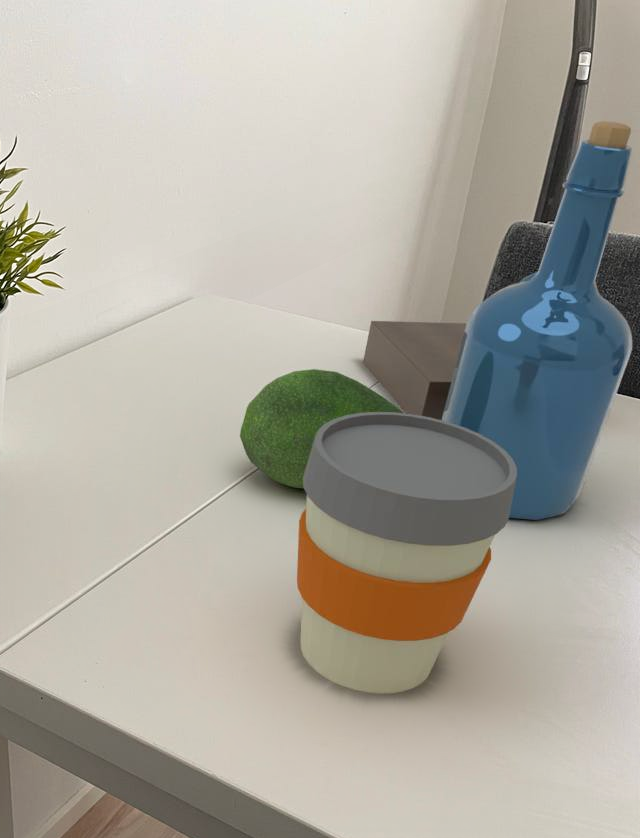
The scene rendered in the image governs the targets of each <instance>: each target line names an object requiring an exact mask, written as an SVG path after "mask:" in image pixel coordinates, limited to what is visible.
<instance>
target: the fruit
mask: <svg viewBox="0 0 640 838" xmlns="http://www.w3.org/2000/svg"><path fill="white" fill-rule="evenodd" d="M366 412H395V413H404V411H403V410H401V409H399V408H398V407H397V406H396V405H394V404H393V403H392V402H391V401H389V400H388V399H386V398H385V397H383V396H382V395H381V394H380V393H378V392H377V391H374V390H373V389H372V388H369V387H368V386H366V385H364V384H363V383H361V382H359V381H358V380H355V379H354V378H351V377H350V376H346V375H344V374H342V373H340V372H338V371H334V370H333V371H332V370H325V369H318V368H317V369H316V368H312V369H304V370H303V369H302V370H297V371H296V370H295V371H292V372H290V373H286V374H285V375H282V376H279V377H276V378H275V379H273V380H272V381H271V382H269V383H268V384H266V385H265V386H264V387H263V388H262V389H261V390H260V391H259V392H258V393H257V395H256V396H254V398H253V399H252V400H251V401H250V402H249V403H248V404H247V407H246V411H245V414H244V418H243V421H242V424H241V427H240V433H239V438H240V440H241V443H242V446H243V449H244V451H245V454H246V457H247V458H248V459H249V461H250V462H251V464H253V465H254V467H256V468H257V469H258V470H259V471H260V472H261V473H263V474H264V475H266V476H267V477H268V478H269V479H271V480H272V481H274V482H276V483H279V484H281V485H285V486H287V487H291V488H294V489H295V488H296V489H304V488H303V476H304V472H305V469H306V466H307V462H308V459H309V456H310V452H311V449H312V446H313V442H314V439H315V436H316V433H317V431H318V430H319V429H320V428H321V427H322V426H323V425H324V424H325V423H327V422H329V421H331V420H333V419H336V418H339V417H342V416H345V415H350V414H356V413H366Z"/></svg>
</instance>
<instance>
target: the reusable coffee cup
mask: <svg viewBox="0 0 640 838" xmlns="http://www.w3.org/2000/svg"><path fill="white" fill-rule="evenodd" d="M516 478H517V467H516V465H515V463H514V461H513V459H512V458H511V456H510V455H509V454H508V453H507V452H506V451H505V450H504V449H503V448H501V447H500V446H499V445H497V444H496V443H495V442H493V441H491V440H490V439H488V438H486V437H484V436H482V435H481V434H478V433H476V432H474V431H471V430H469V429H467V428H464V427H462V426H459V425H456V424H453V423H450V422H446V421H442V420H438V419H434V418H430V417H425V416H419V415H413V414H406V413H405V412H403V413H395V412H366V413H356V414H350V415H345V416H342V417H339V418H336V419H333V420H331V421H329V422H327V423H325V424H324V425H323V426H322V427H321V428H320V429H319V430H318V431H317V433H316V436H315V439H314V442H313V446H312V449H311V452H310V456H309V459H308V462H307V466H306V469H305V472H304V476H303V488H302V489H304V492H305V494H306V503H305V504H306V505H305V506H306V507H305V509H304V510H303V511H302V512H301V515H300V518H299V520H298V541H297V542H298V544H297V567H296V569H297V570H296V584H297V585H296V586H297V590H298V592H299V594H300V597H301V598H302V601H301V620H300V651H301V653H302V656H303V658H304V659H305V660H306V662H307V663H308V665H309V666H310V667H311V668H312V669H313V670H314V671H316V673H318V674H320V675H321V676H322V677H324V679H326V680H329V681H331V682H333V683H335V684H336V685H339V686H342V687H345V688H348V689H350V690H354V691H359V692H363V693H368V694H369V693H370V694H381V695H382V694H383V695H384V694H398V693H403V692H406V691H410V690H412V689H415V688H416V687H418V686H420V685H422V684H423V683H424V682H425V681H426V680H427V679H428V677H429V676H430V673H431V672H432V669H433V667H434V665H435V662H436V660H437V659H438V656H439V654H440V652H441V651H442V649H443V646H444V645H445V644H444V643H445V641H446V639H447V637H448V636H449V634H450V632H451V631H453V630H455V629H456V628H457V627H458V626H459V625H460V624H461V623H462V621H463V620H464V617H465V615H466V612H467V610H468V609H469V607H470V604H471V602H472V600H473V599H474V596H475V594H476V592H477V590H478V588H479V585H480V583H481V581H482V579H483V577H484V575H485V573H486V571H487V569H488V567H489V565H490V563H491V561H492V549H491V548H492V547H491V545H492V542H493V540H494V539H495V535H497V534H498V533H499V532H500V531H501V530H503V529H504V528H505V527H506V525H507V523H508V520H509V519H510V518H509V515H510V509H511V504H512V499H513V494H514V488H515V483H516Z"/></svg>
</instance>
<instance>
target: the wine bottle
mask: <svg viewBox="0 0 640 838" xmlns="http://www.w3.org/2000/svg"><path fill="white" fill-rule="evenodd" d="M631 133H632V128H631V127H630V126H629V125H627V124H626V123H622V122H621V123H620V122H614V121H604V120H602V121H597V122H595V123H594V124H593V125H592V127H591V131H590V134H589V137H588V138H589V139H585V140H583V141H581V142H580V143H579V146H578V148H577V151H576V153H575V156H574V158H573V161H572V163H571V166H570V168H569V170H568V173H567V175H566V178H565V180H566V181H564V182H563V183H562V185H561V186H562V188H564V192H563V195H562V196H561V197H562V198H561V200H560V204H559V207H558V210H557V213H556V216H555V219H554V222H553V225H552V228H551V232H550V234H549V237H548V240H547V243H546V245H545V250H544V252H543V255H542V258H541V262H540V264H539V267H538V271H536V272H533V273H531V274H529V275H527V276H525V277H524V278H522V279H521V281H519V282H516V283H513V284H509V285H507V286H505V287H502V288H500V289H498V290H497V291H495V292H494V293H493V294H491V295H490V296H489V297H487V298H485V300H483V301H482V302H481V303H480V304H479V305H477V306H476V308H475V309H474V310H473V311H472V313H471V315H469V317H468V319H467V321H466V323H467V324H466V328H465V331H464V335H463V339H462V343H461V347H460V351H459V355H458V359H457V362H456V366H455V370H454V374H453V378H452V382H451V386H450V390H449V394H448V397H447V401H446V405H445V409H444V413H443V417H442V421H446V422H450V423H453V424H456V425H459V426H462V427H464V428H467V429H469V430H471V431H474V432H476V433H478V434H481V435H482V436H484V437H486V438H488V439H490V440H491V441H493V442H495V443H496V444H497V445H499V446H500V447H501V448H503V449H504V450H505V451H506V452H507V453H508V454H509V455H510V456H511V458H512V459H513V461H514V463H515V465H516V467H517V478H516V483H515V488H514V494H513V499H512V504H511V509H510V515H509V519H521V520H522V519H523V520H531V521H538V520H543V519H548V518H553V517H557V516H561V515H564V514H566V513H567V512H568V510H569V509H571V507H572V506H573V505H574V503H575V502H576V500H577V499H578V497H579V496H580V494H581V493H582V490H583V487H584V484H585V481H586V480H587V477H588V474H589V470H590V467H591V465H592V463H593V461H594V460H593V459H594V458H595V457H594V456H595V454H596V451H597V449H598V446H599V443H600V440H601V437H602V435H603V432H604V429H605V427H606V423H607V421H608V418H609V416H610V413H611V409H612V407H613V404H614V401H615V399H616V396H617V393H618V391H619V388H620V385H621V382H622V380H623V377H624V374H625V371H626V368H627V366H628V364H629V363H628V362H629V360H630V357H631V354H632V350H633V335H632V330H631V327H630V324H629V323H628V321H627V319H626V317H624V315H623V314H622V313H621V312H620V311H619V310H618V308H616V306H614V305H613V304H612V303H611V302H610V301H609V300H608V299H607V298H605V297H604V296H603V295H601V294H600V292H599V289H598V286H597V282H596V279H597V277H598V273H599V269H600V265H601V262H602V259H603V256H604V251H605V248H606V244H607V240H608V237H609V234H610V230H611V227H612V223H613V220H614V216H615V213H616V209H617V205H618V203H619V199H620V198H621V197H623V196H624V195H625V191H624V190H623V189H624V188H625V186H626V181H627V176H628V173H629V168H630V162H631V159H632V158H631V157H632V153H633V148H632V147H630V146H628V141H629V140H630V137H631Z"/></svg>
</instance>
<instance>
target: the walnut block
mask: <svg viewBox="0 0 640 838" xmlns="http://www.w3.org/2000/svg"><path fill="white" fill-rule="evenodd" d="M466 324H467V322H466V323H462V322H431V321H430V322H427V321H395V320H394V321H392V320H391V321H390V320H389V321H388V320H386V321H385V320H371V321H370V325H369V330H368V335H367V340H366V344H365V350H364V354H363V360H362V364H363V365H364V366H365V367H366V369H367V370H368V371H369V372H370V373H371V375H373V377H374V378H375V379H376V380H377V382H378V383H379V384H380V385H381V386H382V388H384V390H385V391H386V392H387V393H388V394H389V395H390V397H391V398H392V399H393V400H394V401H395V402H396V404H397V405H398V406H399V407H400V408H401V409H402V411H403V413H405V414H413V415H419V416H425V417H430V418H434V419H438V420H442V417H443V413H444V409H445V405H446V401H447V397H448V394H449V390H450V386H451V382H452V378H453V374H454V370H455V366H456V362H457V359H458V355H459V351H460V347H461V343H462V339H463V335H464V331H465V328H466Z"/></svg>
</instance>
